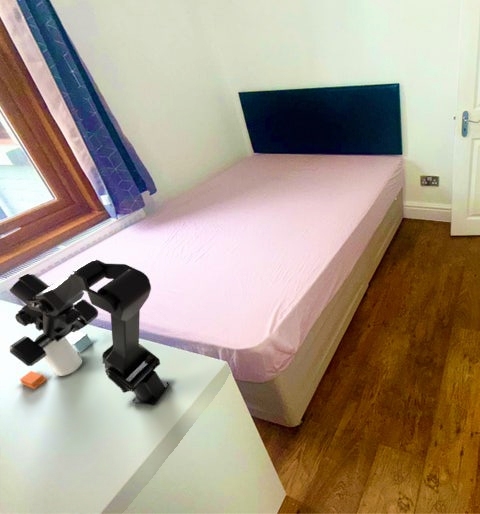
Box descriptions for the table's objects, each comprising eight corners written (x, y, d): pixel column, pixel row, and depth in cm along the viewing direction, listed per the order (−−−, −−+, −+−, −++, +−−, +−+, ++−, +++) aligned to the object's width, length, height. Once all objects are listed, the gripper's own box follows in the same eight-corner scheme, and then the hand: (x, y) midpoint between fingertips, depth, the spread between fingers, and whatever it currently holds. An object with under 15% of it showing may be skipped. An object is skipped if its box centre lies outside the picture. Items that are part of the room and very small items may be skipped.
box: (93, 342, 109) (87, 333, 107) (79, 353, 106) (73, 344, 104) (80, 339, 112) (74, 330, 110) (67, 349, 109) (60, 341, 107)
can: (70, 377, 98) (45, 345, 92) (52, 376, 99) (26, 345, 93) (88, 359, 103) (65, 327, 97) (70, 358, 105) (47, 327, 99)
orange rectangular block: (47, 379, 99) (43, 374, 98) (35, 389, 96) (31, 384, 95) (35, 375, 101) (31, 370, 100) (23, 384, 99) (18, 379, 98)
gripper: (67, 273, 91) (65, 302, 101) (-14, 321, 77) (-7, 349, 87) (102, 300, 92) (96, 326, 102) (28, 354, 78) (30, 378, 88)
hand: (56, 343), depth 95 cm, fingers open, 9 cm apart
